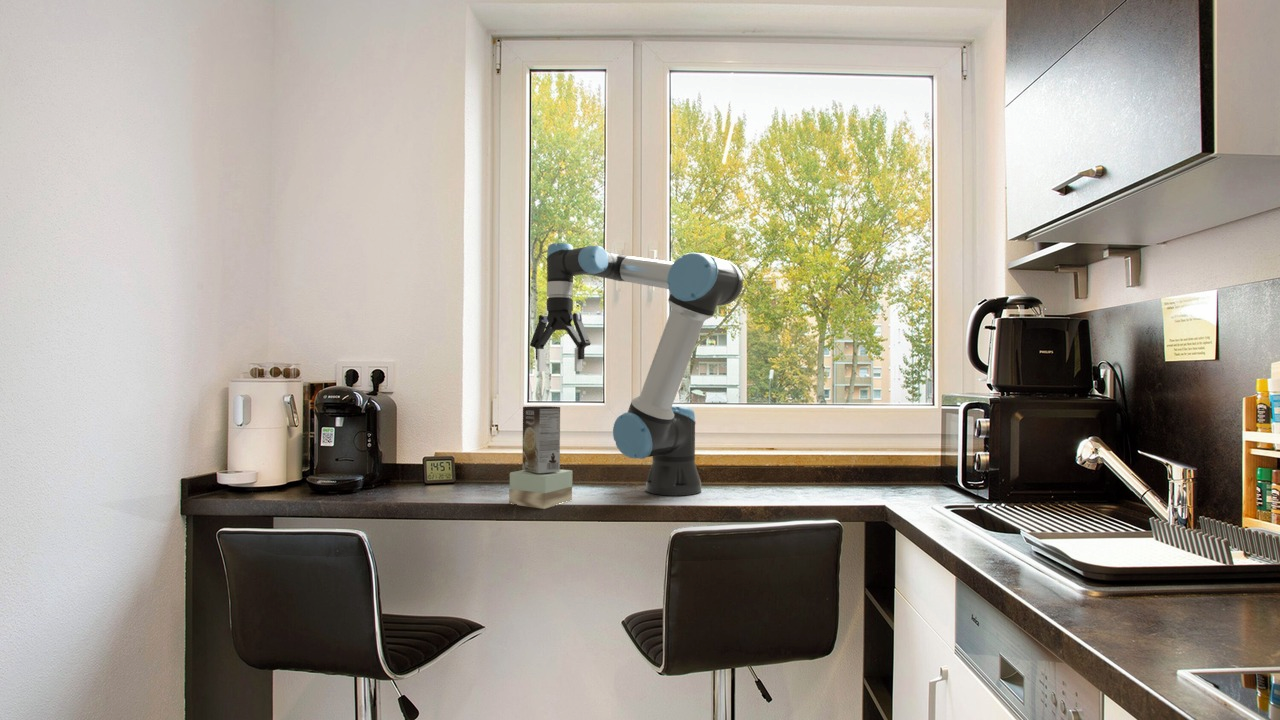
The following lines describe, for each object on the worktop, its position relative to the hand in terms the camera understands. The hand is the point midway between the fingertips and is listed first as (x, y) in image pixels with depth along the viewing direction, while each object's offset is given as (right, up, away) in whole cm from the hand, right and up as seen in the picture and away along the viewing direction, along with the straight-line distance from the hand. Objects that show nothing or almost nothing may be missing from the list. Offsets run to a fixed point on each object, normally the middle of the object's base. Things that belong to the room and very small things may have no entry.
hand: (559, 371), depth 182 cm
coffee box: (-1, -25, -25) cm, 35 cm away
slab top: (-1, -29, -25) cm, 38 cm away
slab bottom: (-1, -33, -25) cm, 41 cm away
